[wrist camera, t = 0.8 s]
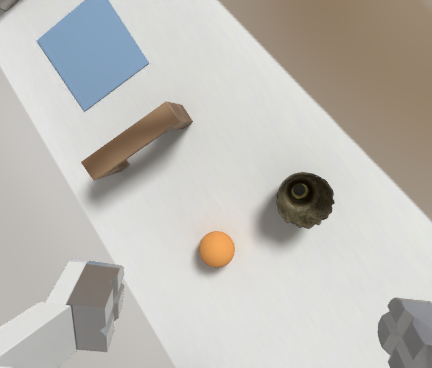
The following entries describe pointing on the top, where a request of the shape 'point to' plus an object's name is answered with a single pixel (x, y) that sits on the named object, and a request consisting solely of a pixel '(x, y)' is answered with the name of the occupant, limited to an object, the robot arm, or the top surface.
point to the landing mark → (92, 51)
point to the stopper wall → (7, 4)
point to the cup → (305, 200)
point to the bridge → (135, 139)
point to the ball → (216, 249)
